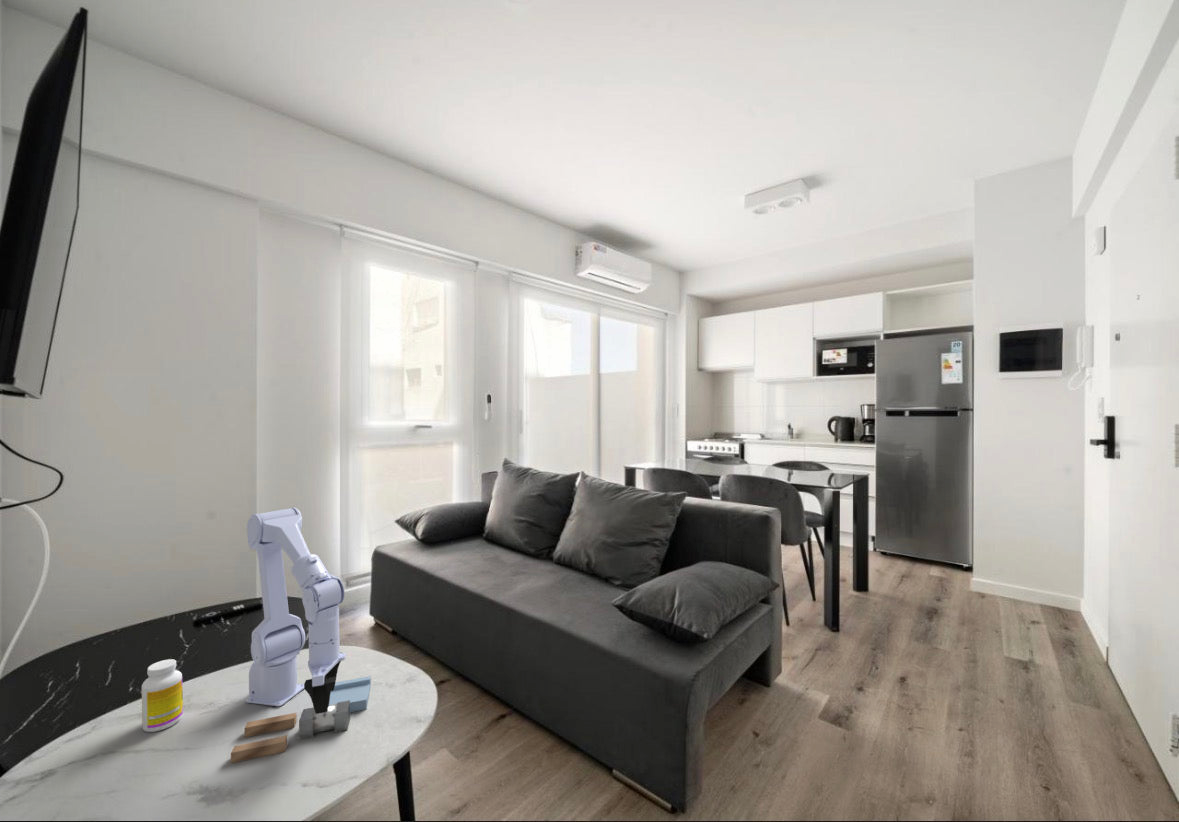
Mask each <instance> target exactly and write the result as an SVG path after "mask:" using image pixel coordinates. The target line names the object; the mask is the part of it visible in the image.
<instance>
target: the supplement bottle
mask: <svg viewBox="0 0 1179 822" xmlns="http://www.w3.org/2000/svg"><path fill="white" fill-rule="evenodd" d="M176 668H177V660H175V659H172V658H168V659H164V660H160V661H157V662H155V663H152V664H150V665H149V666H148V667H147V676H148V677H147V678H146V679H145V680H144V681H143V682H142V684H141V722H142V723H141V724H142V730H143V731H144V732H147V733H153V732H154V733H155V732H160V731H162V730H165V729H168V728H170V727H172V726H174V725H176V724H177V723H178V722H180V720H181V719H183V716H184V698H183V696H184V695H183V694H184V692H183V673H182V672H181V671H180V670H177V669H176Z"/></svg>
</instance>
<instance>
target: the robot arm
mask: <svg viewBox="0 0 1179 822" xmlns="http://www.w3.org/2000/svg"><path fill="white" fill-rule="evenodd" d="M302 527H303V516H302V512H301V511H300V510H299V509H298V508H297V507H295V506H294V507H289V508H285V509H278V510H274V511H273V510H272V511H266V512H261V513H253V514H251V515H250V517H249V518H248V520H247V523H246V533H247V543H248V546H249V548H248V549H251V550H255V551H256V554H257V561H258V569H259V580H260V589H261V596H262V597H261V598H262V607H263V616H264V617H263V620H262V621H261V622H260V623H259V624H258V625H257V626H256V627H255V628H254V629H253V630H252V632H251V644H250V655H251V658H252V661H253V663H251V666H250V667H249V672H248V698H247V699H246V700H245V703H248V704H256V705H264V706H274V707H281V706H283V705H284V704H286V703H287V702H288V701H290V700H291V699H293V698H294V697H295V696H296V695H298V694H299V693H301V692H302V691H303V690H305V692H307V694H308V696H309V697H310V700H311V702H312V706H313V707H314V710H315V713H316V714H319V713H324V712H327V710H328V707H329V701H330V694H331V691H333V690H334V687H335V682H337V681H336V680H337V675H338V671H339V666H340V664H341V662H342V661H345V660H346V657H347V655H346V652H340V650H341V649H340V605H339V604H342V603H343V602H344V599H345V587H344V584H343V582H342V580H341V578H339V576H335V575H334V574H333V573H331V574H330V573H329V571H328V569H327V568H326V567H325V565H324V563H323V561H322V559H321V558H320V557H319V555H317V554H315V553H314V554H313V553H311V552H310V550H309V547H308V545H307V542H306V541H305V539H304V536H303V533H302ZM283 551H284V552H285V555H287V556H288V558H289V559H290V560H291V561H292V563H293V564H292V567H291V573H292V575H293V576H294V579H295V581H296V583H297V584H298V586H299V587H300V589H301V592H302V597H301V601H302V605H303V608H304V612H305V613H304V615H305V616H304V617H305V620H306V621H307V622H308V623H307V624H308V661H307V667H308V669H309V671H310V674H311V678H310V679H309V678H308V679H305V682H304V683H303V684H301V683H298V665H297V664H298V663H297V661H298V660H297V659H298V658H297V656H299V655H300V653H301V652H300V650H301V649H303V648H304V646H305V643H306V633H305V629H304V628H303V623H302V619H301V618H300V617H299V616H298V615H294V614H291V613H290V612H289V604H288V603H289V602H288V594H287V584H286V577H285V576H286V575H285V568H284V567H285V566H284V560H283V559H284V558H283ZM313 707H312V708H313Z"/></svg>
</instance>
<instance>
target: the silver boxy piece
mask: <svg viewBox="0 0 1179 822" xmlns="http://www.w3.org/2000/svg"><path fill="white" fill-rule="evenodd" d="M350 720H351V712H350V700H349V701H344V702H339V703H337V704H333V705H329V707H328V710H327V712H324V713H319V714H316V713H315V710H314V707H309V708H303V710H302V712H301V714H300V717H299V720H298V737H299V739H298V740H299V741H301V740H306V739H311V738H314V736H315V734H317V733H321V732H326V731H330V730H334V733H338V732H344V731H348V730H349V725H350Z"/></svg>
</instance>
